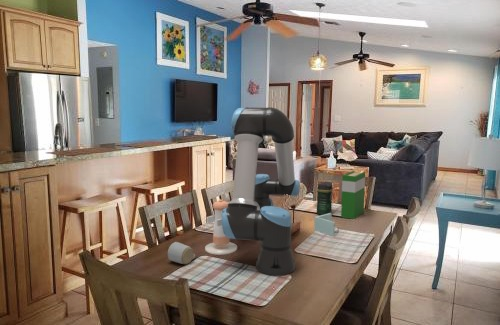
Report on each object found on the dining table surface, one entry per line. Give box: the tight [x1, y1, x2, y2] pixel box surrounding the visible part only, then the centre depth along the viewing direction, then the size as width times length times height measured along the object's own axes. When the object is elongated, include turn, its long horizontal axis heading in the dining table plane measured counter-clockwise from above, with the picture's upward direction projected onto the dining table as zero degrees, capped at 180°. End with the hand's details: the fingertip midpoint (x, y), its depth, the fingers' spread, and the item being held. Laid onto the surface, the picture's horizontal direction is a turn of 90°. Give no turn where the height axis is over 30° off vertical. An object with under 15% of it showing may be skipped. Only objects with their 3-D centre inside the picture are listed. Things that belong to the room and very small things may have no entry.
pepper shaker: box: [212, 199, 231, 245], centre depth 169 cm, size 7×7×19 cm
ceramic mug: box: [167, 241, 196, 265], centre depth 157 cm, size 11×8×8 cm
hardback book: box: [340, 170, 366, 220], centre depth 223 cm, size 18×7×24 cm, turn 147°
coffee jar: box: [316, 181, 333, 216], centre depth 225 cm, size 10×8×19 cm
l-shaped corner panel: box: [313, 212, 339, 237], centre depth 194 cm, size 12×12×8 cm
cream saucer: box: [204, 242, 238, 256], centre depth 170 cm, size 14×14×1 cm
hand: (212, 221), depth 165 cm, fingers closed on pepper shaker, 5 cm apart
